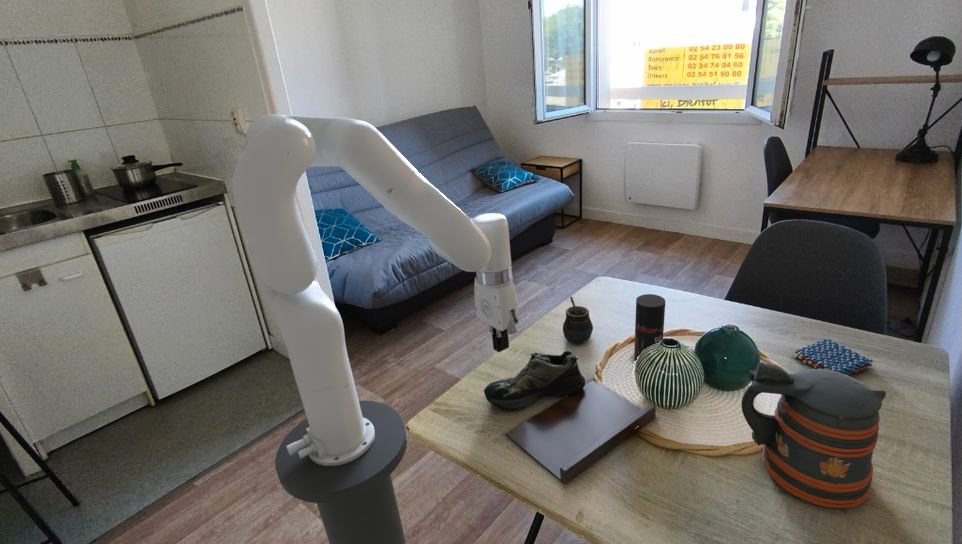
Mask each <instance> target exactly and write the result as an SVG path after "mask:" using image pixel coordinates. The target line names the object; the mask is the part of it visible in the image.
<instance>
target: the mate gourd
mask: <svg viewBox="0 0 962 544" xmlns="http://www.w3.org/2000/svg"><path fill="white" fill-rule="evenodd" d="M569 299H570V302H571V304H572V306H570V307H568V308H567V309H566V310H565V319H564V321H563V324H562V333H563V336H564V338H565V340H566V341H567V342H568V343H571V344H574V345H582V344H585V343H586V342H588V341H589V340H590V339H591V337H592V333H593V331H594V325H593V322H592V320H591V317H590V310H589V309H588V308H587V307H585V306H582V305H576V304H575V301H574V298H573V296H569Z"/></svg>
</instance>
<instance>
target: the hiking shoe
mask: <svg viewBox="0 0 962 544" xmlns="http://www.w3.org/2000/svg"><path fill="white" fill-rule="evenodd" d="M530 355H531V356H530V358H529V361H528V362H527V364H525V366H524V367H523V368H522V369H521V370H520V371H519V372H518V373H517V374H516V375H514V376H510V377H505V378H503V379H500V380H496V381H492V382H490V383H489V384H487V385H486V386H485V388H484V390H483V393H484V397H485V399H486V401H487V402H488V403H489V404H490V405H492V407H494V408H496V409H497V410H499V411H518V410H523V409H524V408H526V407H528V406H530V405H532V404H533V403H534V402H536V401H537V400H538V399H539V398H542V397H547V396H549V397H566V396H568V395H573V394H576V393H578V392H579V391H580V390H582V388H583V387H584V386H585V384H586V378H585V377H584V375H583V374H582V373H581V370H580V368H579V365H578V364H579V363H578V360H579V357H577V355H576V354H575V353H574V352H572V351H570V350H565V351H564V352H562V353H561V354H549V353H543V352H542V353H541V352H532V353H531V354H530Z"/></svg>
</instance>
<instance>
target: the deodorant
mask: <svg viewBox="0 0 962 544" xmlns="http://www.w3.org/2000/svg"><path fill="white" fill-rule="evenodd" d="M665 314H666V299H665V298H664V297H662V296H661V295H659V294H652V293H646V294H640V295H639V296H637V297H636V299H635V319H634V321H635V322H634V323H635V324H634V347H633V348H634V351H633V352H634V353H633V360H634V362H636V360H637V357H638V356H639V355H640V354H641V352H642V351H643V350H644V349H646V348H647V347H649V346H651V345H653V344H656V343H659V342H660V341H661V340H663V341H664V330H665V329H664V328H665V327H664V326H665Z"/></svg>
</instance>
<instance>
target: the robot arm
mask: <svg viewBox="0 0 962 544" xmlns="http://www.w3.org/2000/svg"><path fill="white" fill-rule="evenodd" d="M245 145H246V147H245V148H244V150H243V151H242V153H241V155H240V156H239V158H238V161H237V163H236V165H235V168H234V172H233V175H232V182H231V183H232V185H231V192H232V198H233V202H234V205H235V206H234V207H235V209H236V211H237V214H238V217H239V220H240V224H241V225H242V229H243V232H244V236H245V238H246V240H247V242H248V245H247V255H248V260H249V262H250V265H251V268H252V270H253V273H254V274H255V277H256V280H257V281H258V284H259V288H260V289H261V291H262V294H263V296H264V300H265V302H266V303H267V306H268V308H269V310H270V313H271V315H272V317H273V319H274V321H275V323H276V326H277V328H278V330H279V331H280V333H281V336H282V339H283V342H284V344H285V348H286V351H287V354H288V359H289V363H290V367H291V370H292V375H293V378H294V380H295V383H296V386H297V390H298V393H299V397H300V399H301V403H302V407H303V410H304V413H305V416H306V417H305V418H307V420H308V423H309V427H308V428H307V429H306V430H307V435H305V436H303V439H301V440H299V441H297V442H294V443H292V444H290V445H288V446H286V447H287V450H288V453H289V455H290V456H291V455H293V454H295V453H297V452H298V455H299V457H300V459H301V458H303V457H305V456H307V455H309V457H310V458H311V460H312V461H313V462H315V463H317V464H319V465H323V466H337V465H342V464H346V463H348V462H351V461H353V460H355V459H357V458H358V457H360V456H361V455H362V454H364V453H365V452H366V451H367V450H368V449H369V447H370V446H371V445H372V443H373V441H374V437H375V431H374V427H373V425H372V423H371V422H370V421H369V420H367V419H366V418H363V416H362V412H361V408H360V404H359V401H360V399H359V396H358V392H357V387H356V383H355V380H354V374H353V371H352V367H351V363H350V359H349V355H348V350H347V344H346V336H345V328H344V323H343V319H342V317H341V314H340V312H339V310H338V309H337V307H336V305H335V303H334V302H333V301H332V300H331V299H330V297H329V296H328V295H327V294H326V293H325V292H324V291H323V289H322V288H321V285H320V284H319V281H318V278H317V273H318V259H317V254H316V252H315V250H314V248H313V245H312V243H311V241H310V237H309V235H308V232H307V229H306V227H305V224H304V222H303V219H302V216H301V211H300V208H299V205H298V202H297V195H296V191H297V186H298V183H299V181H300V179H301V177H302V176H303V175H304V173H305V172H306V171H307V170H309V168H331V167H333V168H335V167H337V168H338V167H339V168H340V169H342V170H343V171H345V172H346V173H347V174H348V175H349V176H350V177H351V178H352V179H353V180H354V181H356V182H357V183H358V184H359V185H360V186H361V187H362V188H363V189H364V190H365V191H366V192H368V194H370V195H371V196H372V197H373V198H374V199H375V200H376V201H377V202H378V203H379V204H381V205H382V206H383V207H384V209H385V210H387V211H388V212H389V213H390V214H392V215H393V216H394V217H395V218H396V219H398V220H399V221H401V222H402V223H403V224H405V225H407V226H408V227H410V228H412V229H414V230H415V231H417V232H418V233H420V234H421V235H423V236H424V237H426V238H427V239H428V240H429V245H430V248H431V249H432V251H433V252H434V253H435V254H436V255H437V256H439V257H440V258H442V259H444V260H445V261H447V262H448V263H450V264H452V265H453V266H455V267H457V268H458V269H460V270H462V271H464V272H467V273H475V278H474V287H473V288H474V289H473V294H474V310H475V311H474V312H475V315H476V317H477V318H478V319H479V320H480V321H481V322H483V323H485V324H487V325H488V328H489V333H490V334H491V339H492V349H493V350H494V351H496V353H501V352H503V351H504V350H506V349H508V348H510V343H509V342H510V341H509V340H510V339H509V335H511V336H512V335H514V334H516V333H518V329H517V326H516V325H518V324H519V322H520V312H519V304H518V297H517V291H516V287H515V285H514V284H515V283H514V281H513V279H514V278H513V267H512V256H511V255H512V254H511V244H510V243H511V242H510V231H509V221H508V219H507V217H506V216H505V215H503V214H501V213H497V212H488V213H482V214H478V215H476V216H474V217H472V218H470V217H469V216H468V215H467V214H465V213H464V212H463V211H462V210H461V208H459V207H458V206H456V204H454V203H453V201H451V200H450V199H449V198H447V197H446V195H444V194H443V193H442V192H441V191H440V190H439V189H438V188H437V187H435V186H434V185H433V183H431V182H429V181H428V180H427V178H425V177H424V176H423V175H422V174H421V173H420V172H419V171H418V169H416V168H415V166H413V165H412V163H410V162H409V161H408V159H407V158H406V157H405V156H404V155H402V153H401V152H400V151H399V150H398V149H397V148H396V147H395V146H394V145H393V143H391V142H390V141H389V139H387V137H386V136H385V135H384V134H383V133H382V132H380V131H379V129H377V128H376V127H375V126H374V125H372V124H371V123H369V122H367V121H364V120H361V119H356V118H350V117H338V116H337V117H336V116H335V117H333V116H331V117H330V116H329V117H328V116H307V115H293V114H276V113H270V114H269V113H268V114H264V115H261V116H259V117H257V118H255V119H254V120H253V121H252V122H251V123H250V124H249V126H248V128H247V129H246V134H245ZM306 447H307V448H306Z"/></svg>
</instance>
